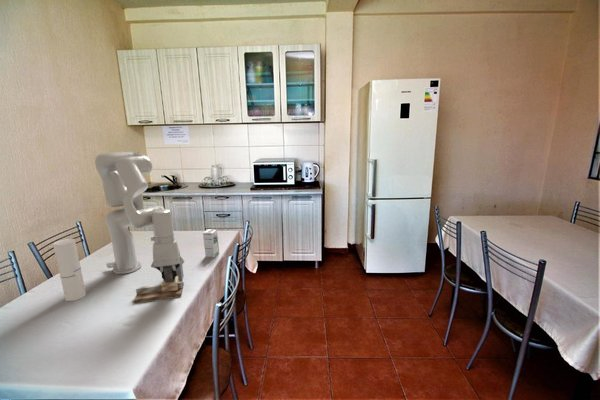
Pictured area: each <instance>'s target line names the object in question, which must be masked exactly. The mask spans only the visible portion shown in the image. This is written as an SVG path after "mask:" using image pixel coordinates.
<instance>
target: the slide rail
mask: <svg viewBox="0 0 600 400" xmlns="http://www.w3.org/2000/svg"><path fill="white" fill-rule="evenodd" d="M184 283H185V282H184V281H180V282H178V283H177V286H178V290H175V291H168V292H162V286H161V284H162V283H159V284H153V285H145V286H138V287H136V288H135V292H136V295H135V297H134V300H133V302H134V304H138V303H145V302H150V301H157V300H166V299H172V298H178V297H182V293H183V289H184V285H185V284H184Z"/></svg>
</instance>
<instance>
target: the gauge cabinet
mask: <svg viewBox="0 0 600 400" xmlns="http://www.w3.org/2000/svg"><path fill="white" fill-rule="evenodd" d="M183 268H184V267H183V264H182V265H180V266H179V267H178V268H177V269H176V271H177V276H178V278H179V282H180V281H182V282H184V281H183V280H184V277H185V276H184V269H183Z"/></svg>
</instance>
